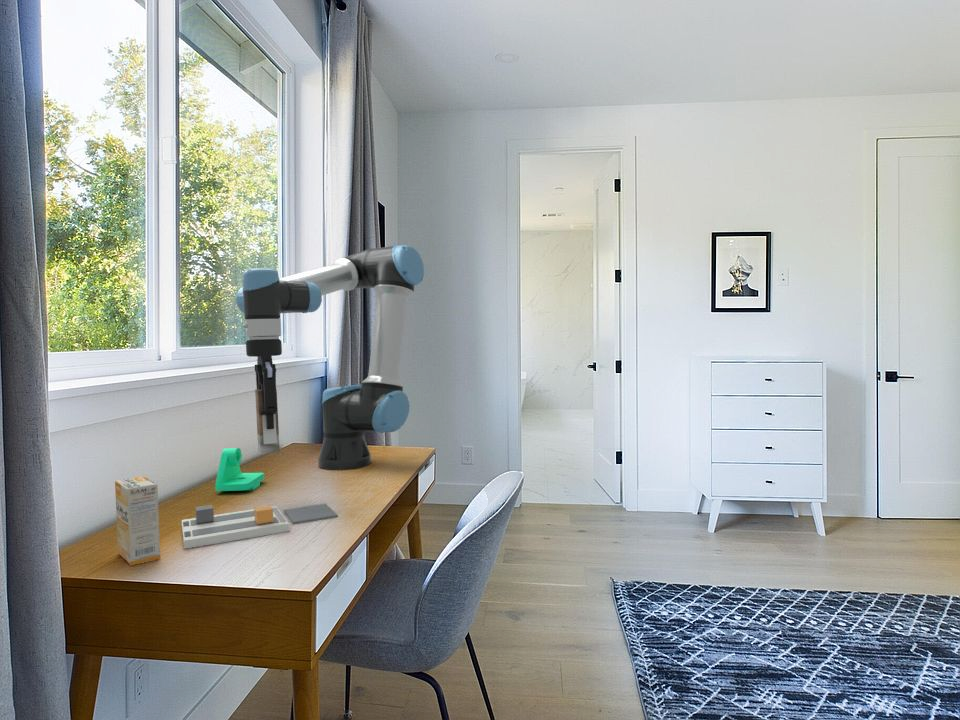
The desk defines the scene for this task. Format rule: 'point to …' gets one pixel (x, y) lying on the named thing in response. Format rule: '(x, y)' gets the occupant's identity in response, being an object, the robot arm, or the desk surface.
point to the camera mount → (235, 473)
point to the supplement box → (137, 520)
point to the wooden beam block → (261, 446)
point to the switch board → (230, 528)
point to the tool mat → (310, 513)
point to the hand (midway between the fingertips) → (268, 441)
